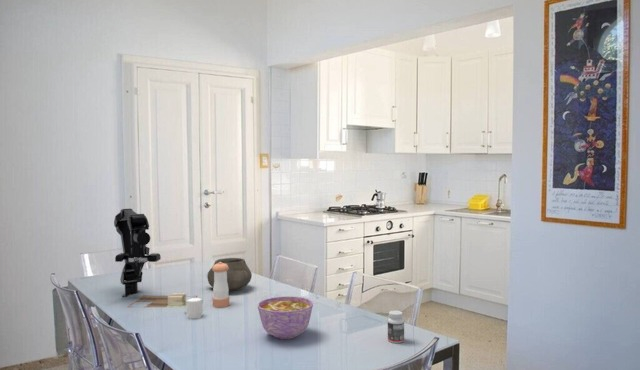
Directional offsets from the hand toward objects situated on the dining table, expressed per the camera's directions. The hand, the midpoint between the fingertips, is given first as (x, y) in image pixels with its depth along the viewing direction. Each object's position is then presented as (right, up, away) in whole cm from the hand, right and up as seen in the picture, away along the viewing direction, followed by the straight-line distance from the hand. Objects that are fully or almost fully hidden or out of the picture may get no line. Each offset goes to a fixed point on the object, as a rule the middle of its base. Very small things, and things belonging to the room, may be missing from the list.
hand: (138, 276), depth 231 cm
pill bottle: (+108, -13, -53) cm, 121 cm away
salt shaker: (+38, -12, -6) cm, 41 cm away
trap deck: (+12, -12, -4) cm, 18 cm away
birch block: (+20, -10, -9) cm, 24 cm away
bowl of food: (+69, -13, -46) cm, 84 cm away
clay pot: (+38, -11, +20) cm, 44 cm away
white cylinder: (+31, -13, -22) cm, 40 cm away
